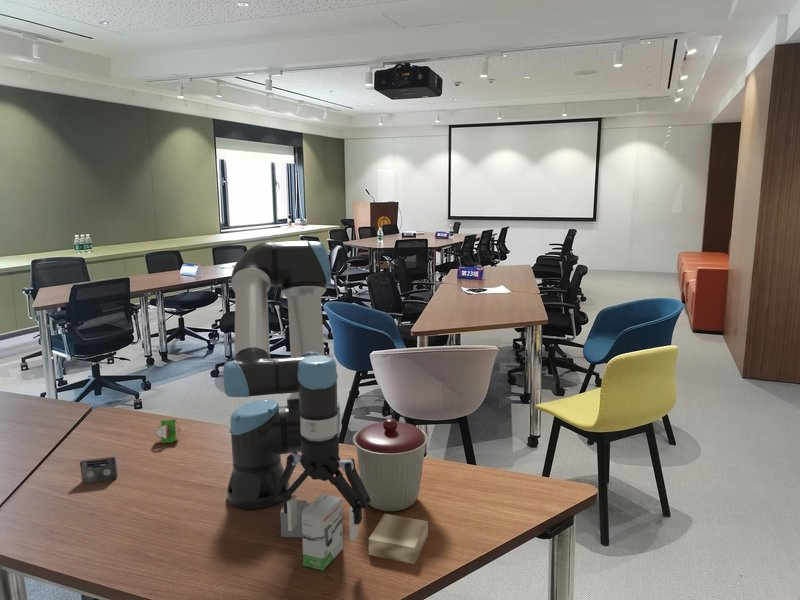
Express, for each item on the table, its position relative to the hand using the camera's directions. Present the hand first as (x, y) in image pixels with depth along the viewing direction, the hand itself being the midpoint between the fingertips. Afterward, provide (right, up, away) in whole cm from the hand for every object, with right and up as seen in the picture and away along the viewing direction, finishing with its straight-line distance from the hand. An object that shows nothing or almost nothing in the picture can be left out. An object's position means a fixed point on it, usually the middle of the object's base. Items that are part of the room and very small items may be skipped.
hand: (323, 532), depth 116 cm
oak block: (+16, -5, +5) cm, 17 cm away
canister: (+14, -2, +23) cm, 27 cm away
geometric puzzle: (-55, +4, +58) cm, 80 cm away
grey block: (-8, -4, +11) cm, 14 cm away
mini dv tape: (-64, 0, +34) cm, 73 cm away
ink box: (0, -6, +1) cm, 6 cm away
